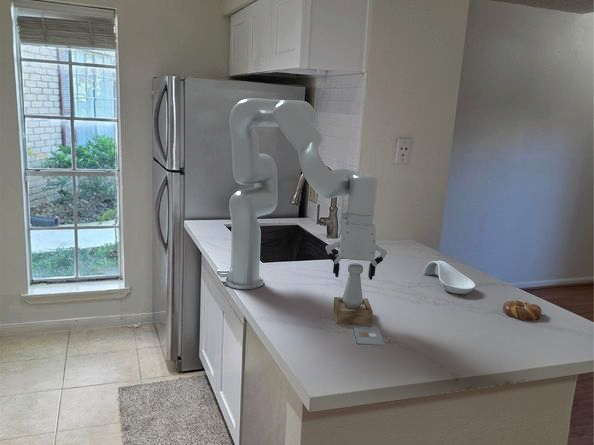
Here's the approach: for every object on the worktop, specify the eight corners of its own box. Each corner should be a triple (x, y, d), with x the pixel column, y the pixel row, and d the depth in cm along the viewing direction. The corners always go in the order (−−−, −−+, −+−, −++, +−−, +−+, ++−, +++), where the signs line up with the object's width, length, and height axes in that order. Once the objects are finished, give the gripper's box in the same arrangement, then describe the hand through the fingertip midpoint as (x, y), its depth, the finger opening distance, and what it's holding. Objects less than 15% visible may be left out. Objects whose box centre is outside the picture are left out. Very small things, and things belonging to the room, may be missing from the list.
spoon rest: (481, 296, 173) (484, 276, 172) (451, 299, 170) (454, 278, 168) (441, 273, 195) (443, 255, 193) (413, 275, 191) (415, 257, 190)
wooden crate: (336, 323, 145) (337, 310, 144) (333, 309, 155) (334, 296, 154) (371, 325, 145) (372, 311, 144) (366, 311, 155) (367, 298, 154)
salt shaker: (340, 303, 152) (343, 260, 149) (359, 303, 153) (363, 261, 150) (343, 311, 146) (347, 267, 143) (363, 311, 147) (367, 267, 144)
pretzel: (529, 308, 166) (531, 297, 165) (550, 322, 156) (552, 310, 155) (494, 307, 164) (496, 296, 164) (513, 322, 154) (515, 310, 153)
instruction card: (357, 344, 134) (357, 342, 133) (352, 327, 143) (353, 326, 143) (384, 345, 134) (384, 343, 134) (378, 328, 143) (378, 327, 143)
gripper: (329, 219, 140) (323, 279, 144) (393, 224, 140) (385, 283, 144) (327, 213, 147) (322, 270, 151) (388, 217, 147) (381, 274, 152)
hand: (353, 277), depth 148 cm, fingers open, 9 cm apart
